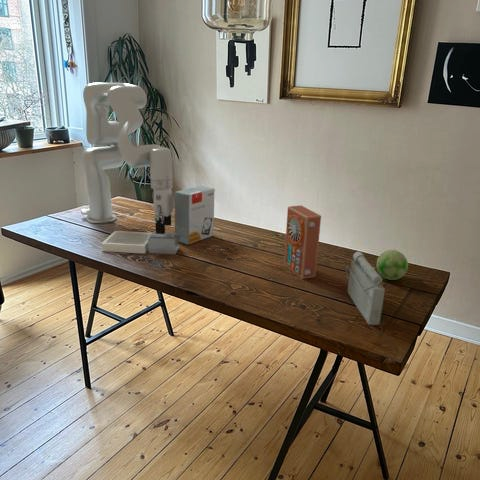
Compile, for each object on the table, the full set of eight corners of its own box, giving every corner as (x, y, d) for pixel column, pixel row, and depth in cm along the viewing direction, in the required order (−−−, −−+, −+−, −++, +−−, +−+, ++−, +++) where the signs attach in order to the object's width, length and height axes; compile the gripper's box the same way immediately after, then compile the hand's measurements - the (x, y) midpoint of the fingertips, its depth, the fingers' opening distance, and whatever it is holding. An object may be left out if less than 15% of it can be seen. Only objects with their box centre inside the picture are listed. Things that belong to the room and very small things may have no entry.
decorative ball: (371, 280, 150) (375, 252, 146) (379, 270, 158) (383, 243, 154) (401, 288, 145) (406, 259, 142) (408, 277, 153) (413, 249, 150)
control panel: (301, 281, 148) (280, 263, 160) (320, 278, 150) (297, 261, 163) (307, 218, 140) (283, 205, 153) (326, 216, 143) (301, 203, 156)
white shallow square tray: (102, 251, 167) (101, 243, 166) (115, 238, 180) (114, 230, 179) (144, 253, 166) (144, 245, 165) (154, 240, 179) (154, 233, 178)
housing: (148, 253, 167) (147, 236, 164) (152, 247, 172) (151, 231, 170) (175, 254, 166) (174, 238, 164) (178, 248, 172) (178, 232, 169)
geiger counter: (391, 278, 118) (360, 244, 142) (367, 278, 118) (340, 244, 141) (383, 325, 123) (354, 284, 147) (360, 325, 123) (335, 284, 146)
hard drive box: (188, 245, 175) (187, 195, 168) (174, 241, 179) (172, 191, 172) (214, 235, 186) (214, 188, 179) (200, 231, 191) (200, 184, 184)
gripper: (166, 189, 152) (168, 237, 157) (177, 178, 168) (178, 222, 174) (144, 188, 152) (147, 236, 158) (157, 178, 169) (159, 222, 174)
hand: (163, 229), depth 166 cm, fingers open, 9 cm apart
